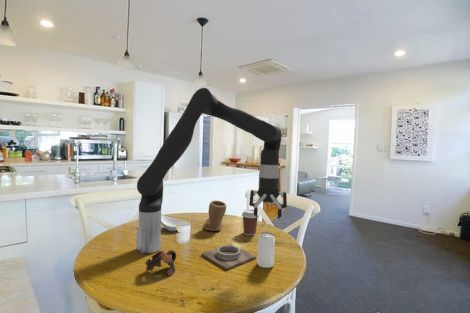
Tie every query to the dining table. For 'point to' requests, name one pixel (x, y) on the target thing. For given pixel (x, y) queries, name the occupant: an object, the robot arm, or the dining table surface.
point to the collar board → (228, 262)
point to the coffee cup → (249, 222)
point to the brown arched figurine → (165, 257)
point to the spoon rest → (169, 223)
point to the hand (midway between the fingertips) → (267, 217)
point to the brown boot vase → (215, 216)
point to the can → (266, 250)
